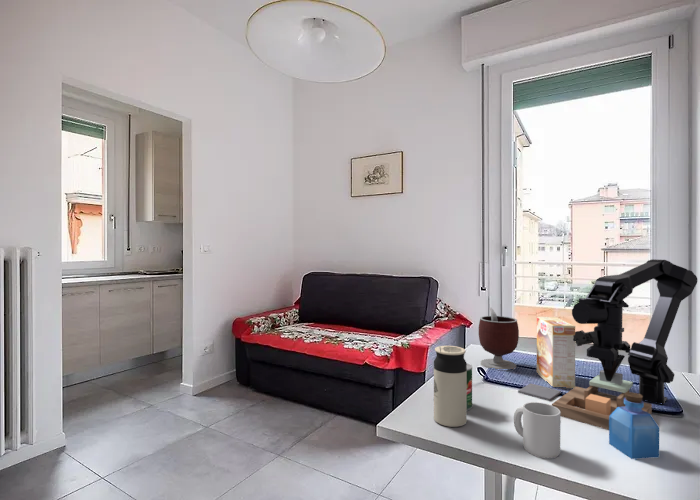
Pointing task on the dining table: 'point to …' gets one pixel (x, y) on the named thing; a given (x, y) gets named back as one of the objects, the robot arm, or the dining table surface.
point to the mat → (539, 392)
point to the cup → (539, 429)
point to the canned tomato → (469, 386)
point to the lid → (611, 382)
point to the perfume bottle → (634, 429)
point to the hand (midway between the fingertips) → (608, 380)
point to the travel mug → (450, 386)
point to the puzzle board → (589, 417)
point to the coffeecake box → (556, 351)
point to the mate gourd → (498, 339)
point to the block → (598, 404)
